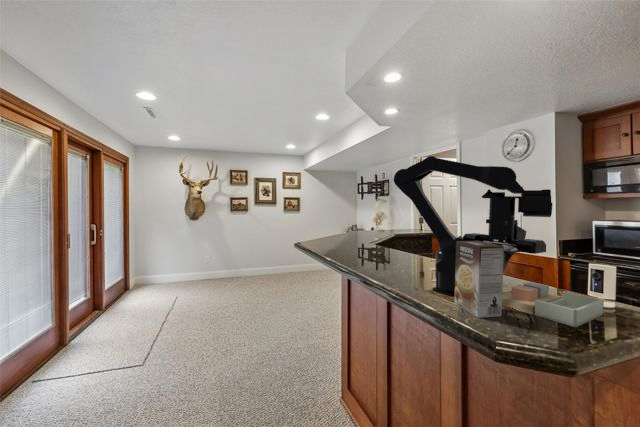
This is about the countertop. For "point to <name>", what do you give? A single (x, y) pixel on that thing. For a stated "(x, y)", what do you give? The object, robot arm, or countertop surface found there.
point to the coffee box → (479, 278)
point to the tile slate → (539, 289)
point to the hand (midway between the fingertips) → (499, 274)
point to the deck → (525, 302)
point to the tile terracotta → (524, 293)
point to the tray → (570, 309)
